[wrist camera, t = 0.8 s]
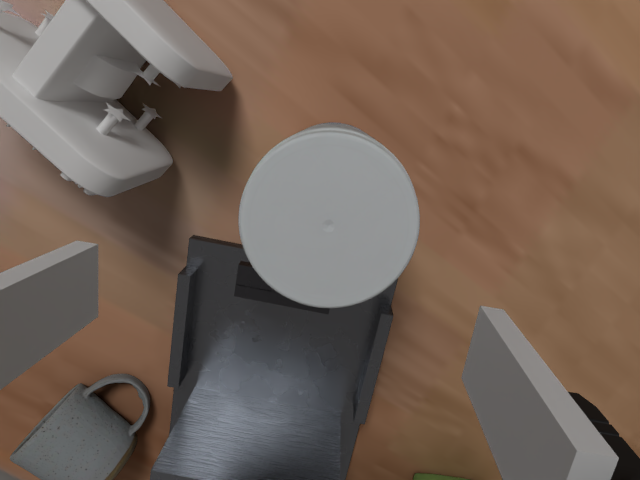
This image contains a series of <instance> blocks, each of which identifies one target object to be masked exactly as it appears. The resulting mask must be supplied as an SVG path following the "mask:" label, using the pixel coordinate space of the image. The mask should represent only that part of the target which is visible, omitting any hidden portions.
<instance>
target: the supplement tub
mask: <svg viewBox="0 0 640 480" xmlns="http://www.w3.org/2000/svg"><path fill="white" fill-rule="evenodd" d="M419 227H420V215H419V206H418V201H417V197H416V194H415V190H414V187H413V185H412V182H411V180H410V177H409V175H408V174H407V172H406V170H405V169H404V167H403V166H402V164H401V163H400V161H399V160H398V159H397V158H396V157H395V156H394V155H393V154H392V153H391V152H390V151H389V150H388V149H387V148H386V147H384V146H383V145H382V144H381V143H379V142H378V141H376V140H375V139H374V138H372V137H371V136H369V135H368V134H366V133H365V132H363V131H361V130H360V129H358V128H356V127H353V126H351V125H347V124H341V123H323V124H318V125H315V126H311V127H309V128H307V129H305V130H303V131H300V132H299V133H296V134H294V135H292V136H291V137H289V138H287V139H285V140H283V141H282V142H280V143H279V144H278V145H276V146H275V147H274V148H273V149H271V150H270V151H269V152H268V153H267V154H266V155H265V156H264V157H263V158H262V159H261V161H260V162H259V163H258V164H257V166H256V167H255V169H254V170H253V172H252V174H251V176H250V178H249V180H248V182H247V184H246V186H245V189H244V191H243V194H242V198H241V202H240V207H239V232H240V238H241V241H242V245H243V248H244V251H245V253H246V256H247V258H248V260H249V262H250V263H251V265H252V267H253V268H254V270H255V271H256V272H257V274H258V275H259V276H260V277H261V278H262V279H263V280H264V281H265V282H266V283H267V284H268V285H269V286H270V287H271V288H272V289H274V290H275V291H277V292H278V293H280V294H281V295H283V296H285V297H286V298H288V299H291V300H293V301H295V302H298V303H300V304H304V305H307V306H312V307H318V308H340V307H347V306H352V305H355V304H358V303H362V302H364V301H366V300H369V299H371V298H373V297H375V296H376V295H378V294H380V293H381V292H383V291H384V290H385V289H386V288H388V287H389V286H390V285H391V284H392V283H393V282H394V281H395V280H396V279H397V278H398V277H399V276H400V275H401V273H402V272H403V271H404V269H405V268H406V266H407V264H408V263H409V261H410V259H411V257H412V255H413V253H414V250H415V247H416V243H417V240H418V235H419Z"/></svg>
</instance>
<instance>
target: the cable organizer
mask: <svg viewBox="0 0 640 480" xmlns="http://www.w3.org/2000/svg"><path fill="white" fill-rule="evenodd" d="M12 7H13V5H12V4H9V3H7V2H4V1H2V0H0V117H1V118H2V119H3V120H4V121H5V122H6V123H8V124H7V125H6V126H7V127H9V126H11V127H12V128H13V129H14V130H15V131H16V132H18V133H19V134H20V135H21V136H22V137H23V138H24V139H25V140H27V141H28V142H29V143H30V144H31V145H32V146H33V148H32V149H33V150H35V149H37V150H38V151H39V152H40V153H41V154H42V155H43V156H44V157H45V158H47V159H48V160H49V161H50V162H51V163H52V164H53V165H55V166H56V167H57V168H58V169H59V170H60V171H61V172H62V173H61V175H60V176H62V177H63V178H64V179H65V180H67V181H74V182H75V184H78V187H79V188H81V187H83V188H84V192H85V193H86V194H87V195H96V194H97V195H100V196H104V197H111V196H114V195H117V194H119V193H122V192H125V191H127V190H130V189H132V188H135V187H137V186H140V185H142V184H145V183H147V182H150V181H153V180H155V179H158V178H160V177H161V176H162V175H163V174H164V173H165V172H166V170H167V169H168V168H169V167H170V166H171V165H172V163H173V159H172V157H171V155H170V153H169V152H168V150H167V149H166V148H165V146H164V145H163V144H162V143H161V142H160V141H159V140H158V139H157V138H156V137H155V136H154V135H153V134H152V133H151V132H150V131H149V130H148V129H147V128H145V127H146V126H147V125H148V124H149V122H150V121H151V120H152V119H153V118H154V119H155V118H156V117H159V118H162V117H160V116H159V115H158V114H157V113H156V109H153V108H149V107H148V106H146V105H145V104H143V103H142V104H143V105H144V107H145V108H143V109H142V110H144V111H145V112H144V114H143V115H142V116H141V117H140V118H139V120H137V119H136V118H135V117H134V116H133V115H132V114H131V113H130V112H129V111H128V110H127V109H126V108H125V107H123V106H122V105H121V104H120V103H119V102H118V101H117V100H116V99H119V98H121V97H122V96H123V94H124V93H125V92H126V90H127V89H128V87H129V86H130V85H131V83H132V82H133V81H134V79H135V78H136V76H137V75H139V76H141V77H142V78H144V79H145V80H146V81H147V83H148V84H149V85H151V83H154V84H156V85H158V84H157V83H156V82H155V81H154V79H155V78H156V76H157V75H158V74H159V73H161V74H163V75H164V76H165V77H167V78H168V79H170V80H171V81H173V82H174V83H175V84H176V85H177V86H178V87H179V88H180V87H181V86H182V87H184V88H185V87H186V89H187V88H194V89H203V90H212V91H222V90H223V89H224V88H225V86H226V85H227V84H228V83H229V82H230V81H231V80H232V79H233V76H232V74H231V72H230V71H229V69H228V68H227V67H226V65H225V64H224V63H223V62H222V61H221V59H220V58H219V57H218V56H217V55H216V54H215V53H214V52H213V51H212V50H211V49H210V48H209V47H208V46H207V45H206V44H205V43H204V42H203V41H202V40H201V39H200V38H199V36H198V35H197V34H196V33H195V32H194V31H193V30H192V29H191V28H190V27H189V26H188V25H187V24H186V23H185V22H184V21H183V20H182V19H181V18H180V17H179V16H178V15H177V14H176V13H175V12H174V11H173V10H172V9H171V8H170V7H169V6H168V5H167V4H166V2H165V1H164V0H66V1H65V2H64V3H63V5H62V6H61V8H60V9H59V10H58V12H57V13H56V14H55V16H53V15H52V14H50V13H49V12H47V11H46V10H45V11H46V13H47V15H46V14H42V13H41V14H42V15H44V16H46V17H45V19H44V20H43V22H42V23H41V24H40V26H39V27H37V26H35V25H34V24H32V23H31V22H29V21H27V20H25V19H23V18H21V17H19V16H16V15H12V14H9V13H5V12H2V11H7V10H9V11H11V12H13V13H15V14H17V15H19V14H18V13H17V12H16V11H14V10H13V9H12ZM146 61H147V62H148V63H150V65H149V66H148V67H147V68H146V70H145V71H144V72H143V71H141V70H140V68H141V67H142V66H143V64H144V63H145V62H146ZM158 86H159V85H158ZM162 119H163V118H162Z"/></svg>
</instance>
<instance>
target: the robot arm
mask: <svg viewBox="0 0 640 480" xmlns="http://www.w3.org/2000/svg"><path fill="white" fill-rule="evenodd" d="M97 317H98V244H95V243H88V242H82V241H75V242H72V243H70V244H68V245H65V246H63V247H61V248H58V249H56V250H53V251H51V252H49V253H46V254H44V255H42V256H39V257H37V258H34V259H32V260H30V261H27V262H25V263H23V264H20V265H18V266H16V267H13V268H11V269H8V270H6V271H4V272H1V273H0V390H1V389H2V388H3V387H5V386H6V385H7V384H9V383H10V382H11V381H13V380H14V379H15V378H17V377H18V376H19V375H21V374H22V373H23V372H25V371H26V370H27V369H29V368H30V367H31V366H33V365H34V364H35V363H37V362H38V361H39V360H41V359H42V358H43V357H45V356H46V355H47V354H49V353H50V352H51V351H53V350H54V349H56V348H57V347H58V346H60V345H61V344H62V343H64V342H65V341H66V340H68V339H69V338H70V337H72V336H73V335H74V334H76V333H77V332H78V331H80V330H81V329H82V328H84V327H85V326H86V325H88V324H89V323H90V322H92V321H93V320H94V319H96V318H97ZM462 380H463V383H464V385H465V388H466V390H467V393H468V395H469V398H470V400H471V403H472V405H473V408H474V410H475V412H476V415H477V417H478V420H479V422H480V425H481V427H482V430H483V432H484V435H485V437H486V440H487V442H488V445H489V447H490V449H491V452H492V454H493V457H494V459H495V462H496V464H497V467H498V469H499V472H500V474H501V477H502V479H503V480H640V458H639V457H638V456H637V455H636V454H635V452H634V451H633V450H632V449H631V448H630V447H629V445H628V444H627V443H626V442H625V441H624V439H623V438H622V437H619V433H618V432H617V431H616V430H615V429H614V427H613V426H612V425H609V421H608V420H607V419H606V418H605V417H604V415H603V414H602V413H601V412H600V411H599V410H598V408H597V407H596V406H594V405H593V404H592V403H590V402H589V401H588V400H586V399H585V398H584V397H582V396H581V395H580V394H578V393H572V392H567V391H566V389H565V388H564V387H563V385H562V384H561V383H560V382H559V380H558V379H557V378H556V376H555V375H554V374H553V373H552V371H551V370H550V369H549V367H548V366H547V365H546V364H545V362H544V361H543V360H542V358H541V357H540V356H539V355H538V353H537V352H536V351H535V349H534V348H533V347H532V346H531V344H530V343H529V342H528V340H527V339H526V338H525V337H524V335H523V334H522V333H521V331H520V330H519V329H518V328H517V326H516V325H515V324H514V322H513V321H512V320H511V319H510V317H509V316H508V315H507V313H506V312H505V311H504V310H503V309H497V308H491V307H485V306H480V309H479V312H478V316H477V320H476V324H475V328H474V332H473V336H472V339H471V343H470V347H469V351H468V355H467V359H466V363H465V366H464V370H463V374H462Z"/></svg>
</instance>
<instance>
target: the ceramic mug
mask: <svg viewBox="0 0 640 480" xmlns="http://www.w3.org/2000/svg"><path fill="white" fill-rule="evenodd" d="M112 383H129V384H132V385H133V386H134V387H135V388H136V389H137V391H138V394H139V397H140V398H141V399H142V401H143V405H144V410H143V413H142V415H141V416H140V418H139V419H138V421H137V422H136V423H135V424H134V425H132V426H131V425H130V424H129V423H128V422H127V421H126V420H125V419H123V418H122V417H121V416H120V415H119V414H117V413H116V412H115V411H114V410H112V409H111V408H110V407H109V406H108V405H107V404H106V403H105V402H104V401H103V400H101V399H100V398H99V397H98V396H97V395H96V394H95V393H93V391H95V390H97V389H99V388H101V387H103V386H105V385H107V384H112ZM149 408H150V395H149V392H148V389H147V388H146V386H145V385H144V384H143V383H142V382H141V381H140V380H139V379H137V378H136V377H134V376H132V375H129V374H114V375H110V376H107V377H105V378H103V379H101V380H99V381H98V382H96V383H94V384H93V385H92V386H90V387H89V388H88V387H86V386H85V385H83V384H81V383H80V384H78V385H76V386H75V387H74V388H73V389H72V390H71V391H70V392H69V393H67V394H66V395H65V396H64V397H63V398H62V399H61V400H60V401H59V402H58V403H57V404H56V406H55V407H54V408H53V409H52V410H51V411H50V412H49V413H48V414H47V415H46V416H45V417H44V418H43V419H42V420H41V421H40V422H39V423H38V425H37V426H36V427H35V428H34V429H33V430H32V431H31V433H29V434H28V436H27V437H26V438H25V439H24V440H23V442H22V443H21V444H20V445H19V446H18V447H17V449H16V450H15V451H14V452H13V453H12V455H11V456H10V460H11V461H12V462H14V463H15V464H17V465H19V466H21V467H22V468H24V469H26V470H27V471H29V472H30V473H32V474H33V475H35V476H37V477H38V478H40V479H42V480H113V479H114V478H115V477H116V476H117V474H118V473H119V472H120V471H121V469H122V468H123V467H124V465H125V464H126V462H127V461H128V459H129V458H130V456H131V454H132V453H133V451H134V449H135V447H136V444H137V433H136V431H137V430H138V429H139V428H140V427H141V425H142V423H143V422H144V420H145V418H146V416H147V414H148V411H149Z"/></svg>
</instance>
